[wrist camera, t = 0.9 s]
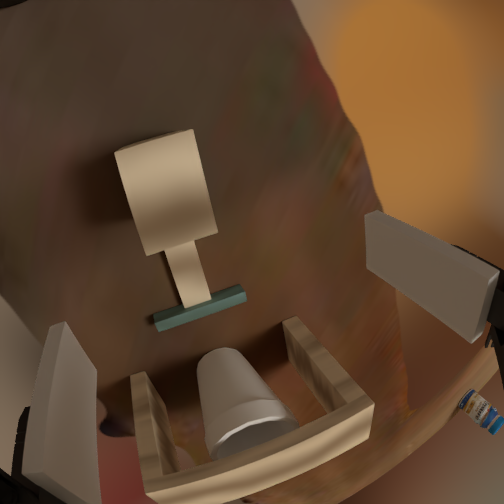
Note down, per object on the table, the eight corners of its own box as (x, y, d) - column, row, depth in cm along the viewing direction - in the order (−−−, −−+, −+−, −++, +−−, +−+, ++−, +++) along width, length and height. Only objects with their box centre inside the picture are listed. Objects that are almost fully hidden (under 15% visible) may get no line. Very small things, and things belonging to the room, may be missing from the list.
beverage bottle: (457, 409, 86) (490, 439, 69) (457, 402, 82) (492, 434, 65) (472, 392, 87) (505, 421, 69) (472, 384, 83) (508, 415, 65)
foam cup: (174, 386, 37) (197, 469, 26) (200, 330, 35) (234, 414, 24) (238, 395, 41) (273, 467, 30) (268, 345, 40) (316, 416, 28)
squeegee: (97, 155, 25) (76, 166, 16) (201, 124, 27) (231, 120, 19) (157, 322, 33) (169, 385, 24) (241, 293, 35) (278, 345, 27)
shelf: (130, 375, 34) (145, 493, 20) (296, 315, 39) (374, 403, 25) (152, 409, 37) (175, 515, 23) (301, 354, 42) (368, 438, 28)
